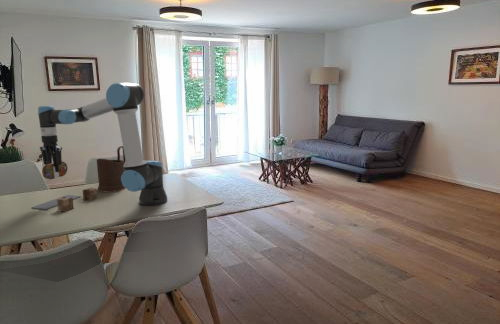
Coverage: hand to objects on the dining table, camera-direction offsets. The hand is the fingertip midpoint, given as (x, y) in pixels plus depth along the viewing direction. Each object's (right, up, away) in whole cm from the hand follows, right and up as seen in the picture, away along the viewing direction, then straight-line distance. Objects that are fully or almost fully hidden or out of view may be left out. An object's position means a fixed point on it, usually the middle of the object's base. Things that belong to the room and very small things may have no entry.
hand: (54, 177), depth 199 cm
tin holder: (+14, -15, -1) cm, 20 cm away
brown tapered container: (+21, -8, +35) cm, 41 cm away
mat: (0, -14, +3) cm, 14 cm away
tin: (0, 0, +1) cm, 1 cm away
